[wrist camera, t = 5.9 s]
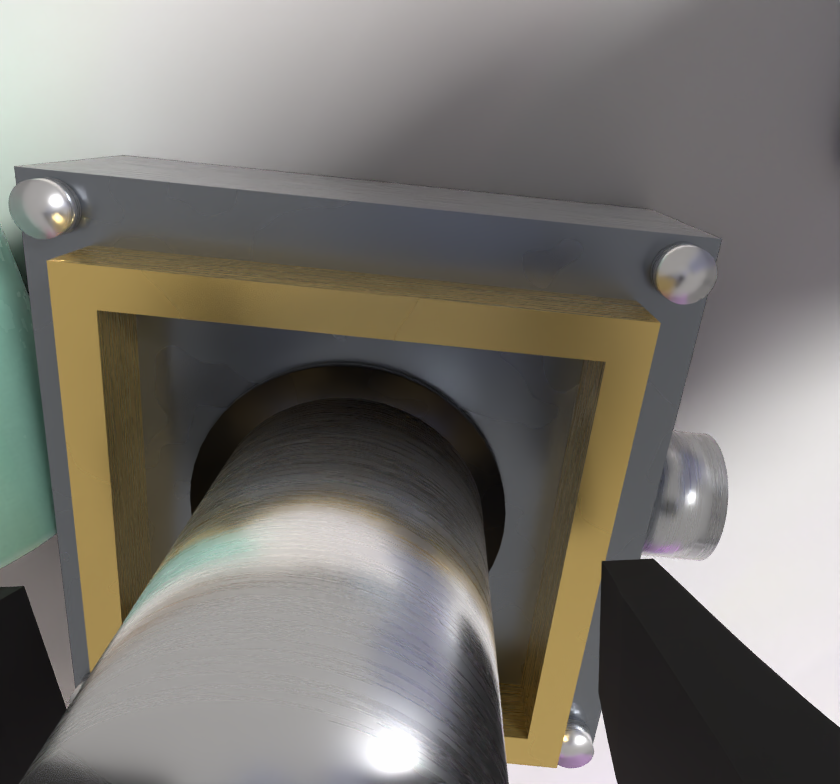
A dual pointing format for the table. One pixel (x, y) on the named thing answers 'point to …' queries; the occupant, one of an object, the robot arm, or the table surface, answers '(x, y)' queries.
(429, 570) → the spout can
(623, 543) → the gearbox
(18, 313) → the mint green cylinder
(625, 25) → the table surface
